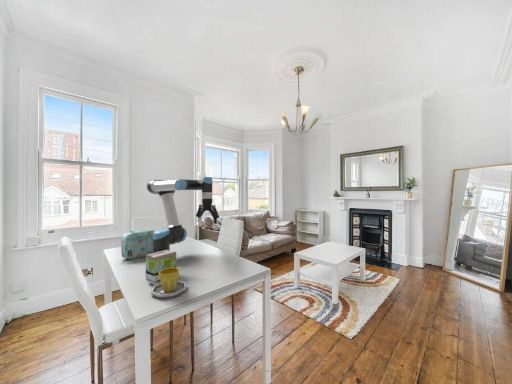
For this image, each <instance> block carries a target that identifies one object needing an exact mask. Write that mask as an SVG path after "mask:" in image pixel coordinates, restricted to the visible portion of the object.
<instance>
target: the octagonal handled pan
mask: <svg viewBox="0 0 512 384" xmlns="http://www.w3.org/2000/svg"><path fill="white" fill-rule="evenodd" d="M148 285H149V286H150V287H152V288H151V291H150V294H151V296H152V297H153V298H154V299H158V300H168V299H174V298H177V297H179V296H182V294H185V292H186V290H187V282H186V281H182V280H177V285H176V289H175V290H173V291H168V292H166V291H163V289H162V285H161V282H160V283H157V284H156V283H153V282H150V283H148Z"/></svg>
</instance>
